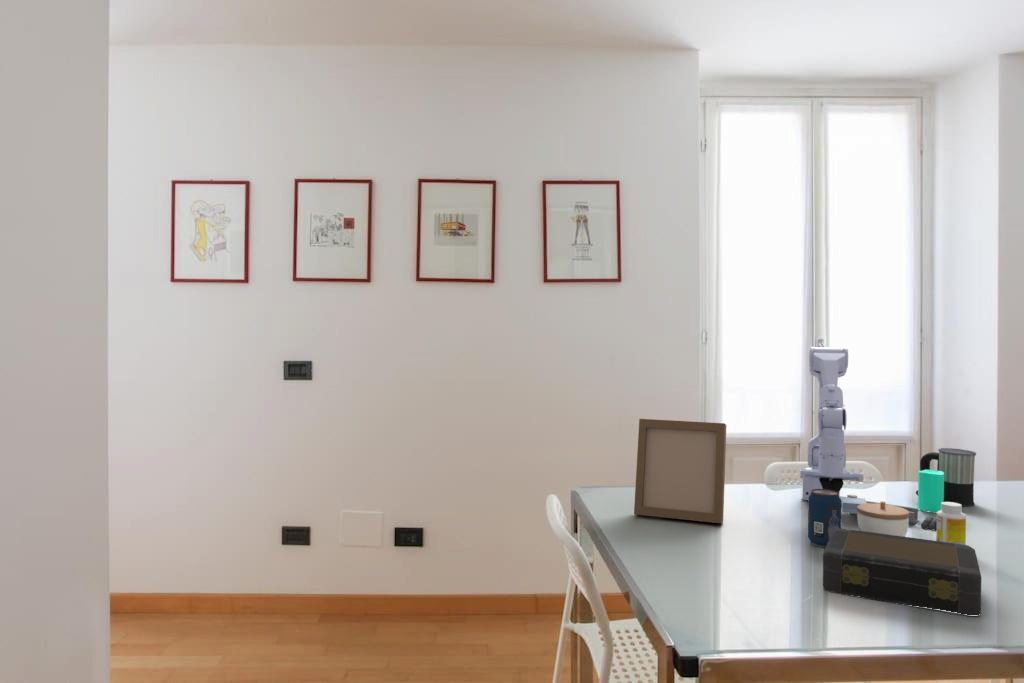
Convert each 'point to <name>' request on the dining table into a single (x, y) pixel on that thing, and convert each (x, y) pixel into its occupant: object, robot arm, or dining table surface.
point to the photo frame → (681, 470)
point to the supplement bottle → (951, 524)
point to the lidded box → (851, 503)
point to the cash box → (903, 570)
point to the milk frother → (954, 473)
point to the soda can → (823, 515)
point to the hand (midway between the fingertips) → (830, 507)
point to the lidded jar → (883, 519)
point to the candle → (930, 490)
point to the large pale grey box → (912, 511)
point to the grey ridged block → (930, 522)
